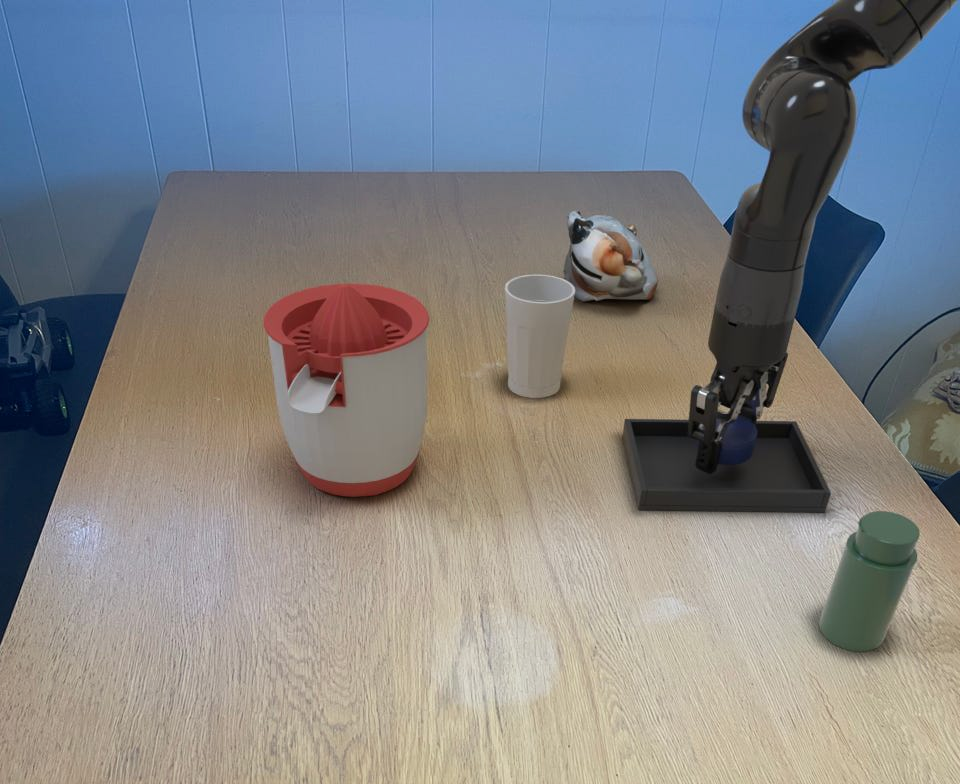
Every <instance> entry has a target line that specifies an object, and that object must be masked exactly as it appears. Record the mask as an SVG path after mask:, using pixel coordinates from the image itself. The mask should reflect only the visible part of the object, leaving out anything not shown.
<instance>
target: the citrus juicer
mask: <svg viewBox="0 0 960 784" xmlns="http://www.w3.org/2000/svg"><path fill="white" fill-rule="evenodd" d="M429 323H430V315H429V311H428V310H427V308H426V307H425V306H424V304H423V303H422V302H421V301H420V300H418V298H416V297H414V296H412V295H410V294H408V293H405V292H404V291H401V290H397V289H396V288H391V287H386V286H382V285H376V284H367V283H334V284H326V285H320V286H313V287H309V288H305V289H302V290H299V291H295V292H293V293H290V294H288V295H286V296H284V297H281V298H280V299H279V300H278V301H276V302H274V303H273V304H272V305H271V306H270V307H269V308H268V309H267V311H266V313H265V315H264V317H263V328H264V331H265V333H266V334H267V338H268V345H269V353H270V361H271V368H272V375H273V383H274V390H275V391H274V392H275V398H276V405H277V410H278V415H279V419H280V420H279V421H280V424H281V427H282V430H283V432H284V435H285V439H286V442H287V444H288V446H289V449H290V452H291V453H292V456H293V459H294V461H295V464H296V466H297V467H298V469H299V470H300V472H301V474H302V475H303V476H304V478H305V479H306V480H307V482H309V483H310V484H311V485H312V486H313V487H314V488H316V489H318V490H320V491H322V492H325V493H328V494H332V495H335V496H340V497H341V496H342V497H352V498H353V497H354V498H355V497H356V498H357V497H368V496H371V497H372V496H373V497H374V496H379V494H383V493H385V492H388V491H391V490H392V489H395V488H397V487H398V486H400V485H402V484H403V483H404V482H405V481H406V480H407V479H408V478H409V476H410V475H411V473H412V471H413V470H414V467H415V465H416V463H417V460H418V458H419V455H420V451H421V445H422V442H423V438H424V433H425V428H426V422H427V415H428V399H429V398H428V395H429V394H428V391H429V390H428V342H427V341H428V339H427V337H428V336H427V334H428V333H427V332H428V331H427V328H428V327H429Z"/></svg>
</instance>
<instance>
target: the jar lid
mask: <svg viewBox="0 0 960 784" xmlns="http://www.w3.org/2000/svg"><path fill="white" fill-rule="evenodd" d="M719 424H720V420H719V419H718V418H717V421H716V431H717V428H718V426H719ZM756 436H757V429H756V427H755V425H754V424H753V423H752V422H750V421H749V420H747V419H745V418H743V417H740V416H738V417H737V419H736V421H735V422H734V423H731V424H729V426H728V428H727V431H726V433H725V435H724V438H723V440H722V442H723V443H722V447H721V452H720V456H719V461H718V464H721V465H737V464H741V463H744V462H746V461H747V460H749V459H750V458H751V456H752V454H753V450H754V446H755V441H756ZM699 443H700V441H698V442H697V450H698V448H699Z"/></svg>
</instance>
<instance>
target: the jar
mask: <svg viewBox="0 0 960 784" xmlns="http://www.w3.org/2000/svg"><path fill="white" fill-rule="evenodd" d="M857 525H858V527H857V530H856V531H854V532H853V533H851V534H850V535H849V536H848V537H847V539H846V542H845V545H844V548H843V551H842V554H841V557H840V560H839V562H838V566H837V569H836V571H835V573H834V577H833V580H832V583H831V585H830V588H829V591H828V595H827V598H826V601H825V603H824V606H823V609H822V612H821V615H820V618H819V621H818V628H819V631H820V633H821V634H822V635H823V636H824V638H825V639H826V640H827V641H828V642H830V643H831V644H833V645H834V646H837V647H839V648H841V649H844V650H847V651H851V652H860V653H861V652H863V653H864V652H870V651H873V650H876V649H878V648H879V647H880V646H881V645H882V644H883V643H884V641H885V638H886V636H887V633H888V631H889V629H890V627H891V623H892V621H893V619H894V616H895V615H896V612H897V609H898V606H899V605H900V602H901V600H902V597H903V595H904V593H905V590H906V587H907V585H908V583H909V580H910V577H911V575H912V573H913V570H914V569H915V565H916V563H917V561H918V551H917V550H916V546H917V543H918V541H919V538H920V536H921V533H920V532H921V531H920V529H919V527H918V526H917V524H916V523H915V522H914V521H912V520H911V519H910V518H909V517H907V516H904V515H903V514H899V513H896V512H892V511H888V510H887V511H885V510H876V511H871V512H868V513H866V514H865V515H862V517H860V518H859V520H858V523H857Z"/></svg>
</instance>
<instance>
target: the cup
mask: <svg viewBox="0 0 960 784" xmlns="http://www.w3.org/2000/svg"><path fill="white" fill-rule="evenodd" d="M564 279H565V278H561V277H559V276H556V275H555V276H554V275H548V274H525V275H520V276H515V277H514V278H512V279H510V280H509V281H507V282H506V283H505V285H504V297H505V298H504V299H505V301H504V302H505V317H506V318H505V319H506V343H507V344H506V345H507V346H506V347H507V367H508V368H507V372H508V373H507V375H508V378H507V387H508V389H509V390H510V392H512V393H514V394H515V395H518V396H521V397H523V398H530V399H542V398H547V397H551V396H553V395H556V394H557V393H558V392H559V390H560V389H561V378H562V373H563V372H562V371H563V365H564V359H565V353H566V347H567V341H568V337H569V336H568V335H569V329H570V323H571V317H572V311H573V306H574V300H575V296H574V295H575V288H574V286H573V285H572V284H571V283H570V282H568V281H566V280H564Z"/></svg>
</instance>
